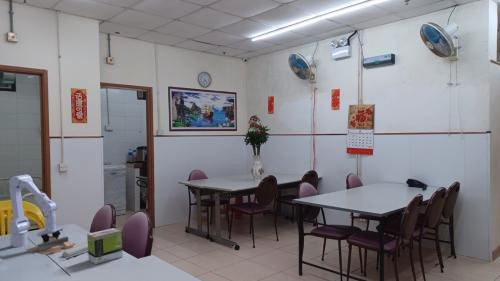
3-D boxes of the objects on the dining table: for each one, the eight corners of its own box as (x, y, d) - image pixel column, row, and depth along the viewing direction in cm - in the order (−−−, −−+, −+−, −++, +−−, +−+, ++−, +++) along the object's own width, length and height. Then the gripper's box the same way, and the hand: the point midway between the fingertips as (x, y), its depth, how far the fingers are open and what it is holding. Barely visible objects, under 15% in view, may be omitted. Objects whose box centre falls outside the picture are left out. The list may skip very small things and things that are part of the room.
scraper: (31, 248, 205) (31, 240, 205) (59, 240, 220) (59, 232, 219) (39, 252, 200) (39, 243, 200) (68, 243, 215) (68, 235, 215)
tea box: (115, 253, 201) (114, 227, 200) (122, 257, 194) (122, 230, 193) (87, 260, 190) (86, 233, 190) (94, 265, 183) (94, 236, 183)
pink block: (50, 247, 199) (54, 248, 197) (57, 245, 202) (60, 246, 201) (51, 254, 199) (54, 255, 197) (58, 252, 202) (61, 253, 201)
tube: (67, 253, 190) (104, 240, 213) (61, 249, 192) (97, 236, 215) (65, 262, 191) (102, 248, 213) (59, 258, 193) (96, 244, 215)
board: (25, 252, 205) (25, 249, 205) (58, 242, 223) (58, 240, 223) (42, 257, 196) (42, 254, 196) (76, 246, 214) (76, 244, 213)
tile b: (62, 247, 207) (63, 242, 206) (68, 245, 211) (69, 240, 210) (66, 250, 205) (67, 246, 205) (72, 248, 209) (73, 244, 208)
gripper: (41, 226, 201) (42, 250, 201) (66, 220, 213) (66, 243, 214) (34, 224, 204) (35, 248, 205) (59, 219, 217) (59, 241, 217)
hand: (50, 245), depth 209 cm, fingers closed on scraper, 4 cm apart
